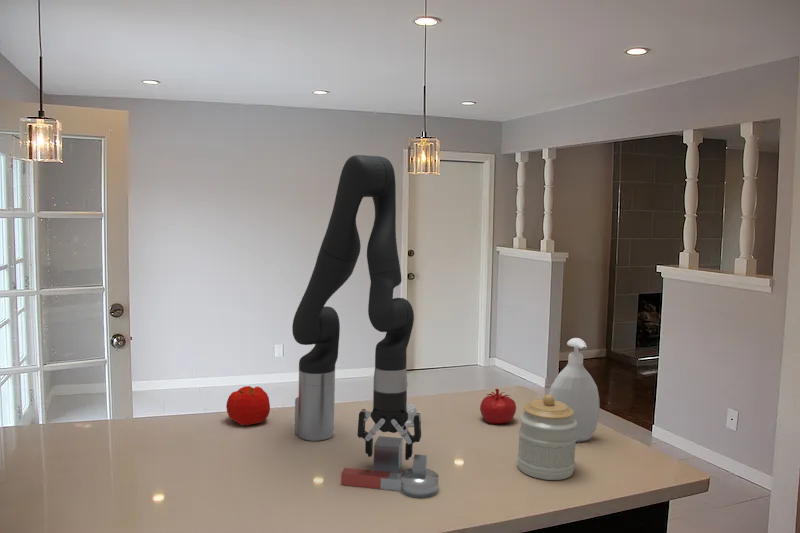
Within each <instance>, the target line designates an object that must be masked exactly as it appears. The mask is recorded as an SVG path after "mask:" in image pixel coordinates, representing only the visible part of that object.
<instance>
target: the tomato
mask: <svg viewBox="0 0 800 533" xmlns="http://www.w3.org/2000/svg"><path fill="white" fill-rule="evenodd" d="M225 407H226V412H227V415H228V418H230V419H231V420H232V421H234V422H237V424H239V425H242V426H250V425H255V424H260V423H261V422H264V420H265V419H267V418H268V417H269V416H270V409H271V405H270V398H269V395H268V393H267V392H266V391H265V390H264V389H263V388H262V387H260V386H255V387H252V386H250V385H248V386H242V387H240V388H239V389H238V390H236V391H233V392H231V393H230V395H229V396H228V398H227V401H226V406H225Z"/></svg>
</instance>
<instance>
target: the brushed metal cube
mask: <svg viewBox="0 0 800 533" xmlns="http://www.w3.org/2000/svg"><path fill="white" fill-rule="evenodd" d="M403 439H404V438H403V437H393V436H382V435H380V436H379V435H378V437H377V439H376V441H375V443H373V470H377V471H388V472H391V473H400V470H401V467H402V465H403V444H404V443H403Z"/></svg>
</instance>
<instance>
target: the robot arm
mask: <svg viewBox="0 0 800 533" xmlns="http://www.w3.org/2000/svg"><path fill="white" fill-rule="evenodd" d="M396 185H397V184H396V173H395V169H394V166H393V164H392V162H391V161H390V160H389V159H388V158H386V157H385V156H384V157H383V156H377V155H375V156H374V155H365V154H364V155H362V154H355V155H352V156H350V157H348V159H347V160H346V161H345V163H344V164H343V167H342V169H341V173H340V177H339V180H338V186H337V189H336V194H335V199H334V204H333V207H332V211H331V215H330V218H329V221H328V224H327V228H326V232H325V233H324V237H323V239H322V242H321V245H320V248H319V252H318V254H317V257H316V262H315V264H314V268H313V271H312V273H311V276H310V279H309V282H308V284H307V287H306V289H305V291H304V294H303V296H302V298H301V300H300V302H299V305H298V306H297V309H296V312H295V313H294V316H293V320H292V337H293V339H294V341H295V342H296V343H298V344H299V345H305V346H310V345H314V346H313V348H312V349H311V350H310V351H309V352H307V353H306V354H304V355H302V356H301V357H300V358H299V362H298V397H295V400H294V435H296V436H298V438H300V439H302V440H306V441H313V442H314V441H315V442H317V441H324V440H328V439H330V438H332V437H334V435H335V434H334V433H335V391H336V365H337V364H336V363H337V361H338V357H339V347H340V343H339V342H340V332H341V331H340V330H341V328H340V327H341V325H340V323H341V322H340V318H339V314H338V312H337V311H336V309H335V308H334V307H332V306H325V305H326V304H327V302H328V301H329V299H330V298H331V297H332V296H333V295H334V294H335V293H336V292H337V291H338V290H339V289H340V288H341V287H342V286H344V284H345V283H346V282H347V281H348V280H349V279H350V277H351V276H352V275H353V273H354V270H355V267H356V265H357V262H358V259H359V256H360V253H361V246H362V245H361V239H360V234H359V230H358V227H357V215H358V211H359V208H360V205H361V202H362V200H363V199H364V198H372V201H373V206H374V220H373V225H372V229H371V232H370V235H369V239H368V242H367V246H366V259H367V260H366V261H367V268H368V273H369V279H370V280H369V281H370V284H369V293H368V294H369V295H368V307H367V308H368V309H367V312H368V314H367V315H368V318H369V321H370V324H371V326H372V327H373V329H375V330H377V331H378V332H381V333H385V337H384V338H383V339H381V340H379V342H377V343H376V346H375V354H374V355H375V356H374V372H373V373H374V374H373V390H372V392H373V396H372V397H373V398H372V399H373V400H372V403H373V404H372V411H369V410H366V409H365V408H362V409H361V410H360V412H358V421H357V422H358V424H357V432H356V433H357V434H356V435H357V437H358V438H359V439H363V440H364V441H365V444H364V445H365V446H364V449H365V454H366V455H367V457H369V458H371V457H372V456H373V455H374V438H373V437H374V436H375V435H376V434H377V432H378V431H381V433H387V432H388V433H393V434H396V433H399V435H400V437H401V438H403V439H404V441H405V449H404V451H405V452H404V453H405V455H404V460H405V461H409V459H410V458H412V455H413V448H414V447H413V446H414V443H419V442H420V441H421V439H422V423H421V422H422V421H421V414H420V413H419V412H416V414H408V413H407V409H406V408H407V404H408V403H407V399H408V397H407V396H408V373H407V349H408V346H409V342H410V339H411V336H412V330H413V327H414V320H415V315H414V314H415V313H414V309H413V306H412V304H411V303H410V301H409V300H407V299H406V298H403V297H395V298H394V290H395V288H397V287H398V286H400V285H401V283H402V272H401V270H402V269H401V265H400V258H399V257H400V256H399V253H398V245H397V233H396V232H397V231H396V230H397V228H396V227H397V226H396V225H397V224H396V223H397V222H396V220H397V219H396V218H397V217H396V216H397V213H396V210H397V205H396V204H397V202H396V199H397V198H396V189H397V188H396ZM369 418H371V420H372V421H373V423H374V425H373V426H372V428H371V429H370V430H369V431H366V422H367V421H369ZM408 419H409V420H410V421H411V423H412V424H414V426H413V430H414V431H413V434H412V433H411V432H410V431H409V427H406V425H405V423H406V421H407V420H408Z"/></svg>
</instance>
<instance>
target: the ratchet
mask: <svg viewBox="0 0 800 533" xmlns="http://www.w3.org/2000/svg"><path fill="white" fill-rule="evenodd" d="M412 460H413V461H412V467H411V468H407V469H404V470H403V471H401V472H399V473H391V472H388V471H377V470H374V469H363V468H354V467H344V468H343V470H342V472H341V474H340V475H341V476H340V478H341V480H340V485H341V486H349V487H356V488H358V487H359V488H367V489H368V488H369V489H379V490H385V491H386V490H387V491H395V492H396V491H397V492H401V493H402V494H403V495H404V496H407V497H411V498H416V499H427V498H431V497H433V496H436V495H437V494H438V492H439V476H440V475H439V474H438V473H437V472H436V471H434V470H432V469H430V468H427V466H428V455H427V454H416V453H415V454H414V456H413V458H412Z"/></svg>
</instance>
